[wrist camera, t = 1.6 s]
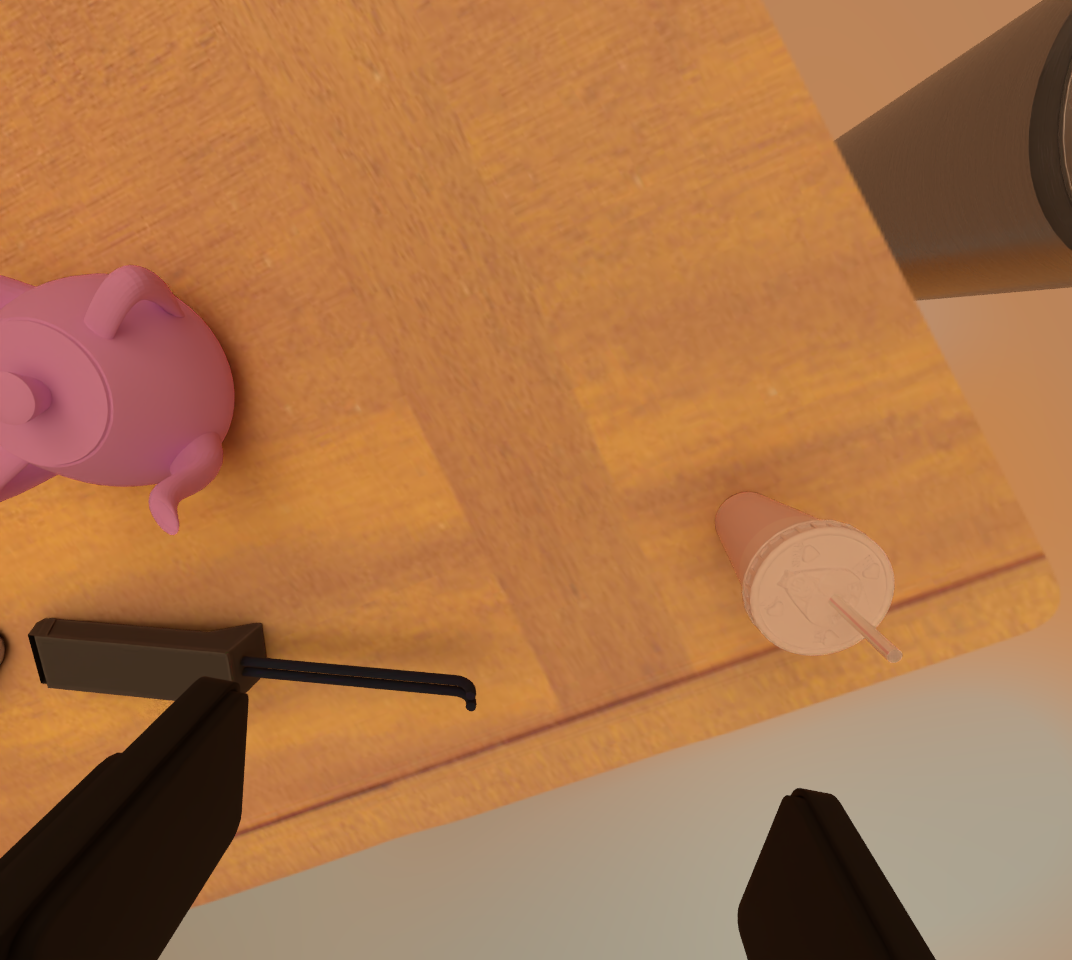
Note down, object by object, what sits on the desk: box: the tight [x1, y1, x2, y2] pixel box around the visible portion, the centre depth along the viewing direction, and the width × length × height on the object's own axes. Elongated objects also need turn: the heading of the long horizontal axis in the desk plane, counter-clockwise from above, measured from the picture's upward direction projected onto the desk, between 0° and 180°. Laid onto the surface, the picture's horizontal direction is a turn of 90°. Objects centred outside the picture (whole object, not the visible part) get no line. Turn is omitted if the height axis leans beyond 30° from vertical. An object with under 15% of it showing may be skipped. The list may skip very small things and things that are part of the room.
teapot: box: [0, 265, 235, 535], centre depth 27 cm, size 12×14×9 cm
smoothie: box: [715, 492, 902, 663], centre depth 26 cm, size 6×6×14 cm
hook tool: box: [28, 618, 476, 711], centre depth 34 cm, size 4×4×30 cm
